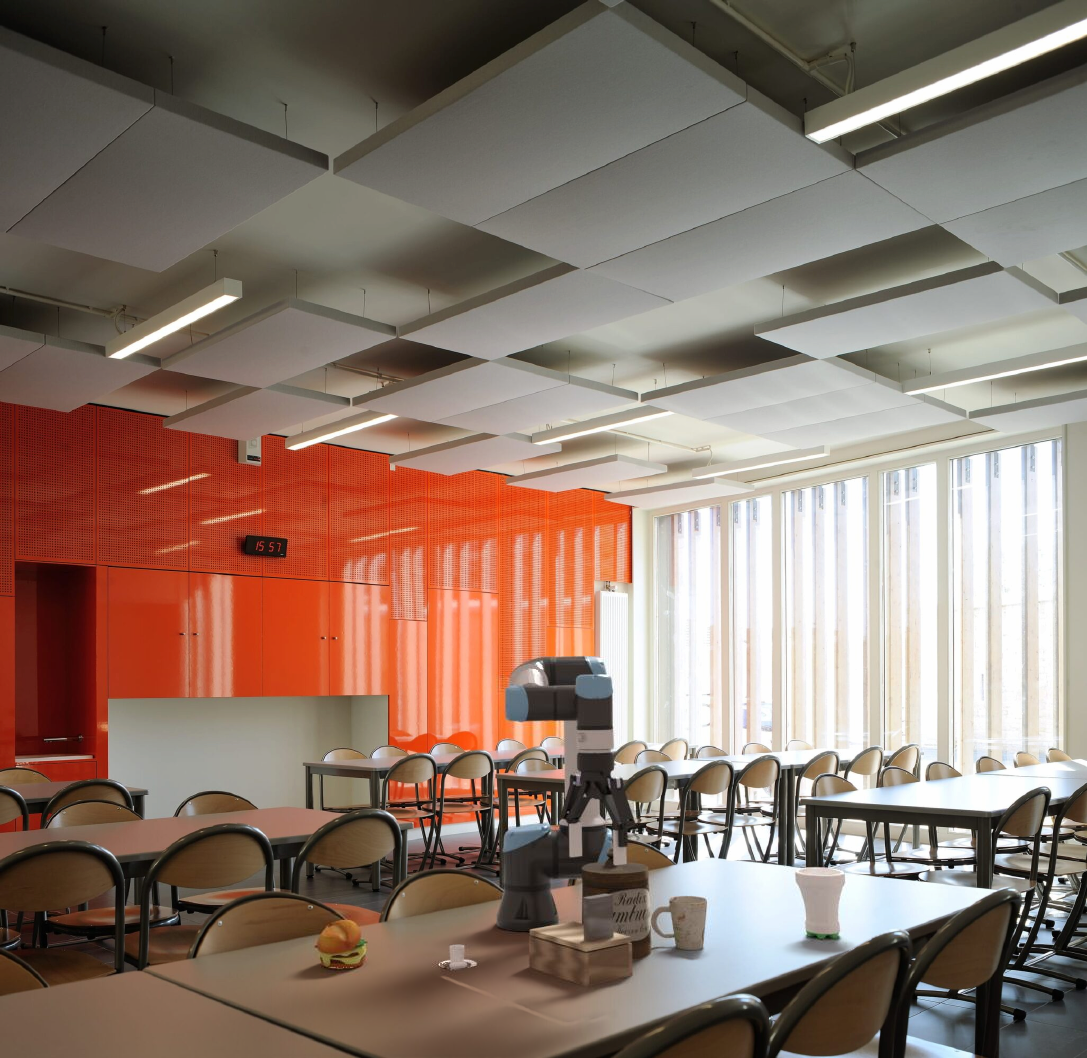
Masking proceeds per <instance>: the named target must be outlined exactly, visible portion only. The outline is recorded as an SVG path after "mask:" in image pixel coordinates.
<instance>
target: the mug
mask: <svg viewBox="0 0 1087 1058" xmlns="http://www.w3.org/2000/svg"><path fill="white" fill-rule="evenodd" d="M668 901H669V902H668V903H669V905H664V906H662V905H661V906H658V907H657V908H656V909H655V910H654V911H653V913H652V914H651V916H650V917H651V928H652V930H653V931H654V933H656V934H657V935H658V936H660V937H661V938H663V939H674V943H675V948H677V949H679V950H684V951H697V950H701V949H703V948H704V945H705V944H704V943H705V942H704V941H705V933H706V931H705V930H706V922H707V921H706V918H707V911H708V910H707V908H708V900H707V899H706V898H705V897H701V896H694V895H693V896H692V895H680V896H679V895H678V896H673V897H670V898H669V899H668ZM662 913H670V917H671V923H672V929H673V933H664V932H663V931H662V930H661V929H660V928H659V926H658V923H657V920H658V917H659V915H660V914H662Z"/></svg>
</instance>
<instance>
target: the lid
mask: <svg viewBox="0 0 1087 1058" xmlns="http://www.w3.org/2000/svg"><path fill="white" fill-rule="evenodd" d="M583 919H584V924H582V922H578V921H568V922H564V923H559V924H557V925H552V926H547V927H541V928H536V929H531V930H530V931H529V935H530V936H536V937H539V938H542V939H546V940H549V941H552V942H556V943H559V944H562V945H566V946H569V947H572V948H575V949H579V950H582V951H585V952H587V951H592V950H596V949H601V948H606V947H611V946H615V945H620V944H625V943H629V942H631V937H630V936H626V935H622V934H619V933H615V932H614V930H613V895H610V894H600V895H595V896H589V897H583Z"/></svg>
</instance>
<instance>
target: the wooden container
mask: <svg viewBox="0 0 1087 1058" xmlns="http://www.w3.org/2000/svg"><path fill="white" fill-rule="evenodd" d="M607 856H608V857H609V858H608V860H607V861H606V862H597V863H591V864H587V865H584V866H583V867H582V879H581V882H582V883H581V887H582V888H581V892H582V893H581V895H582V896H581V900H582V901H581V910H582V911H581V924H584V919H583V897H589V896H595V895H600V894H610V895H613V930H614V932H615V933H619V934H622V935H626V936H630V937H631V942H629V943H632V960H637V959H642V958H646V957H648V956H649V955H651V953H652V936H651V935H652V929H651V928H652V925H651V917H652V916H651V903H650V900H651V899H650V883H649V875H650V874H649V873H650V872H649V866H648V865H645V864H642V863H638V862H631V861H627V864H622V865H614V857H613V847H612V848H611V849H610V850H608V851H607Z"/></svg>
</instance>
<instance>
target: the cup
mask: <svg viewBox="0 0 1087 1058" xmlns="http://www.w3.org/2000/svg"><path fill="white" fill-rule="evenodd" d="M794 875H795V876H794V877H795V883H796V885H797V887H798V888H799V891H800V893H801V896H802V900H803V903H804V909H805V921H804V923H805V932H806V935H807V937H809V938H814V937H817V938H818V939H819V940H824V939H826V937H827V936H828V938H830V939H833V940H834V939H835V940H836V939H837V938H838V935H839V934H840V932H841V925H840V921H839V904H840V899H841V894H842V892H843V887H844V886H845V884H846V873H845V872H844V871H843V870H842V869H836V868H829V867H819V866H818V867H817V866H816V867H801V868H797V869H796V870H794Z"/></svg>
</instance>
